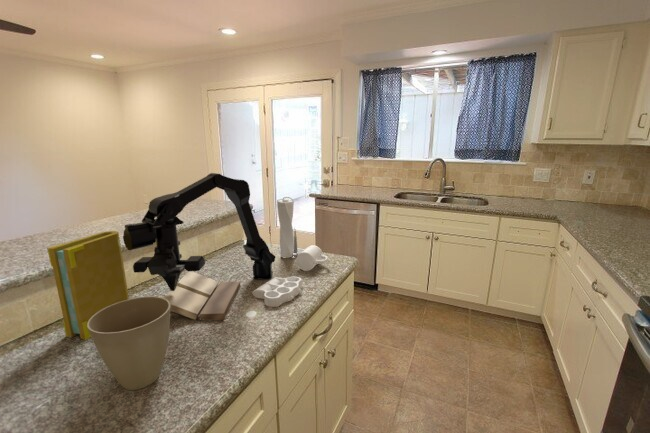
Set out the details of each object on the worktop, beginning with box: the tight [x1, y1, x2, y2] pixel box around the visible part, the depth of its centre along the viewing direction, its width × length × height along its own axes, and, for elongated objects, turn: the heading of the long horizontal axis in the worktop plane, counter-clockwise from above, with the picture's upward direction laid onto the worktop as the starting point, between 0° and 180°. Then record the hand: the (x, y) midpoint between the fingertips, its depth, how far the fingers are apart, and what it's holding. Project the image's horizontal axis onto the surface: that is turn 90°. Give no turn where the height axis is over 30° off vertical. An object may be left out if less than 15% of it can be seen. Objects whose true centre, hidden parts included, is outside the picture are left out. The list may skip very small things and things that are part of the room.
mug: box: [295, 244, 329, 272], centre depth 131 cm, size 12×10×8 cm
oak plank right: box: [177, 271, 220, 301], centre depth 108 cm, size 11×10×2 cm
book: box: [46, 230, 130, 341], centre depth 89 cm, size 17×7×25 cm, turn 168°
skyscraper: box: [276, 196, 298, 258], centre depth 142 cm, size 8×8×28 cm
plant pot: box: [87, 295, 171, 391], centre depth 68 cm, size 15×15×16 cm
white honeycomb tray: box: [252, 276, 304, 308], centre depth 108 cm, size 3×18×15 cm
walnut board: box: [197, 280, 241, 321], centre depth 103 cm, size 8×22×2 cm, turn 3°
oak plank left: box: [163, 286, 208, 321], centre depth 96 cm, size 11×10×2 cm
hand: (173, 290), depth 95 cm, fingers closed
